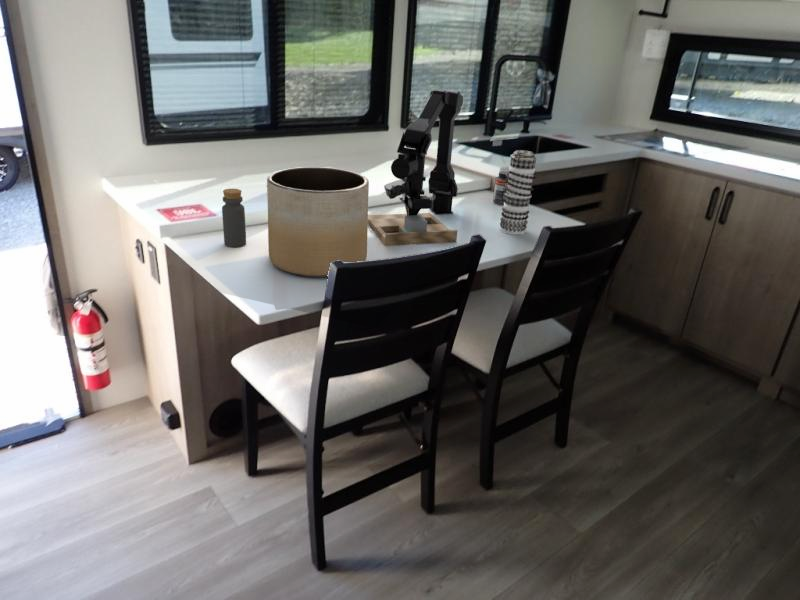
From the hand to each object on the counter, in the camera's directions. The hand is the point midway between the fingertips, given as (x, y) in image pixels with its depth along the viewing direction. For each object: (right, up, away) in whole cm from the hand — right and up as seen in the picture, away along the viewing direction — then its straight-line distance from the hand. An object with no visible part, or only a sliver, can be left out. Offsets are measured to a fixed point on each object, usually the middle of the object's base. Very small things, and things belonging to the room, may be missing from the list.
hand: (410, 223), depth 179 cm
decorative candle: (+33, -1, +9) cm, 34 cm away
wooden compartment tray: (0, -2, +2) cm, 3 cm away
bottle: (-49, -8, -17) cm, 52 cm away
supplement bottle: (+34, +12, +38) cm, 53 cm away
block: (+1, -3, -4) cm, 5 cm away
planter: (-25, -13, -24) cm, 37 cm away
